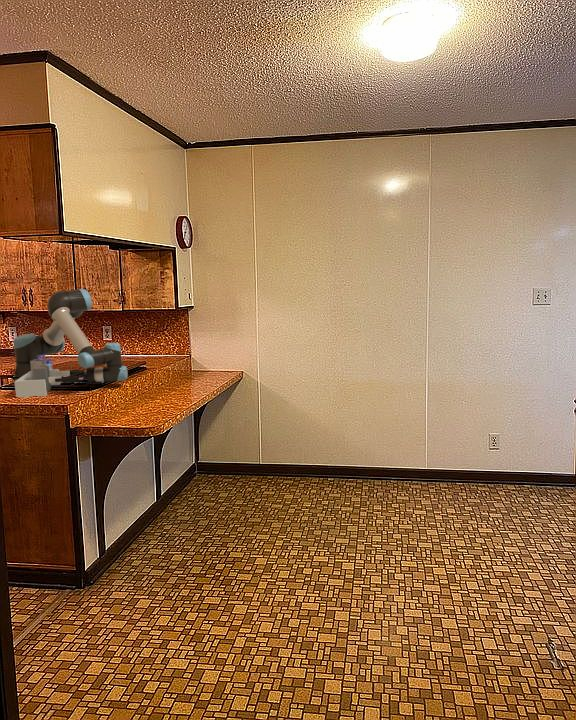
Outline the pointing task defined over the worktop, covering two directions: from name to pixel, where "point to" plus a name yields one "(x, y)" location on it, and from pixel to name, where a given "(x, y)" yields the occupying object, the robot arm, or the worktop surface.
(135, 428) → the worktop surface
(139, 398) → the worktop surface
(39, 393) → the open side box
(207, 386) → the worktop surface
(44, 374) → the dark grey block
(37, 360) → the ink cartridge box
